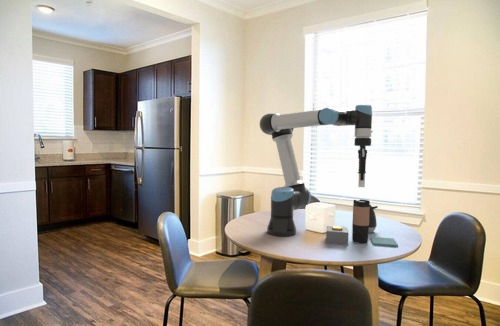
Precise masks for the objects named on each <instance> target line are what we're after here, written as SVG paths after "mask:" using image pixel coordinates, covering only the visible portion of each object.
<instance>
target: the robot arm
mask: <svg viewBox="0 0 500 326" xmlns="http://www.w3.org/2000/svg"><path fill="white" fill-rule="evenodd" d="M372 124H373V107H372V105H370V104H356V105H355V108H354V109H339V108H334V107H324V108H322V109H315V110H307V111H300V112H292V113H291V112H290V113H284V114H281V113H276V112H275V113H267V114H264V115H262V117H261V118H260V119H259V127H260V130H261V132H262V133H263V134H265V135H268V136H271V139H272V141H273V142H275V144H276V149H277V152H278V156H279V162H280V166H281V169H282V170H281V171H282V174H283V178H284V179H283V180H284V183H285V184H284V186H278V187H275V188H273V189H272V191H271V194H270V219H269V222H268V224H267V227H266V233H267V234H269V235H272V236H276V237H290V236H291V237H292V236H294V235H296V234H297V228H296V225H295V220H294V211H296V210H302V209H304V208H306V207H307V206H308V205H309V204H310V203H311V199H312V195H311V191H310V190H309V188H307V187H306V185H305V182H303V180H302V179H301V177H300V172H299V168H298V164H297V160H296V155H295V151H294V148H293V147H294V146H293V143H292V142H293V141H292V138H293V132H294V129H298V128H299V129H300V128H309V127H318V126H330V125H332V126H336V127H341V126H346V127H347V126H354V137H355V138H354V146H356V147H359V149H358V150H357V154H358V155H357V157H358V171H357V174H358V184H357V185H358V186H357V187H358V188H365V183H366V173H367V172H366V165H367V155H368V149H366V147H370V146H371V145H372V138H371V137H372V133H373V132H374V131H373V130H372ZM306 205H307V206H306Z"/></svg>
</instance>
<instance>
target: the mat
mask: <svg viewBox="0 0 500 326" xmlns="http://www.w3.org/2000/svg"><path fill="white" fill-rule="evenodd" d="M370 241H371V244H372V246H378V247H379V246H381V247H392V248H399V244H398V243H397V241H396V240H395V238H394V237H393V238H391V237H380V236H379V237H378V236H370Z"/></svg>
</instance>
